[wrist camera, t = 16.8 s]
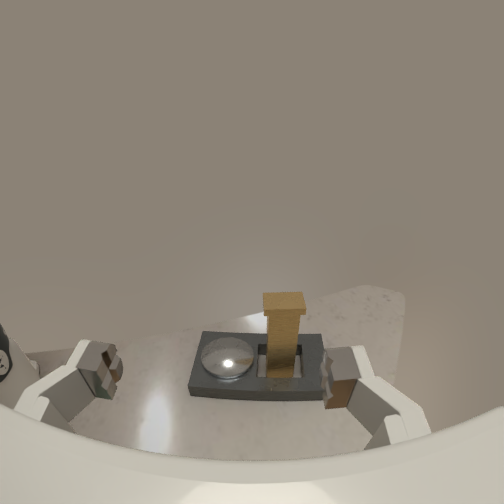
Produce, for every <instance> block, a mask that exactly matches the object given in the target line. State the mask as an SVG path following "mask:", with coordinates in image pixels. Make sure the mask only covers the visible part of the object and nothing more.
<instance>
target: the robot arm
mask: <svg viewBox="0 0 504 504" xmlns="http://www.w3.org/2000/svg"><path fill="white" fill-rule="evenodd" d="M116 352H117V349H116V347H115V345H114V344H110V343H103V342H97V341H89V340H83V339H82V340H81V341H79V343H78V345H77V346H76V348H75V350H74V351H73V353H72V355H71V357H70V358H69V360H68V362H67V364H66V365H65V366H64V365H62V366H61V367H59V368H57V369H56V370H54V371H53V372H51V373H50V374H48V375H46V376H45V377H43V378H42V379H41V378H40V376H39V365H38V364H37V362H36V361H34V360H29V359H28V358H27V356H26V355H25V354H24V352H23V351H22V349H21V348H20V346H19V345H18V343H17V342H16V341H15V340H14V339H13V338H12V339H11V338H8V337H7V335H6V333H5V330H4V328H3V327H2V325H1V324H0V504H504V407H502V406H501V407H497V408H495V409H492V410H490V411H488V412H486V413H484V414H481V415H479V416H477V417H474V418H472V419H469V420H467V421H464V422H462V423H460V424H457V425H454V426H451V427H448V428H445V429H443V430H440V431H437V432H434V433H431V430H430V428H429V425H428V423H427V420H426V418H425V415H424V413H423V410H422V408H421V407H420V406H419V405H417V404H416V403H415V402H413V401H412V400H411V399H409V398H408V397H406V396H405V395H404V394H402V393H401V392H399V391H398V390H397V389H396V388H394V387H393V386H392V385H390V384H389V383H388V382H386V381H385V380H383V379H382V378H381V377H379V376H375V374H374V371H373V369H372V366H371V363H370V361H369V358H368V356H367V353H366V351H365V348H364V346H362V345H361V346H351V347H339V348H328V349H324V351H323V355H322V357H323V362H322V363H321V364H320V369H319V379H320V385H321V387H322V388H323V389H324V391H323V395H322V396H323V401H324V406H325V409H333V408H344V407H347V410H348V411H349V412H350V413H351V414H352V415H353V416H354V417H355V418H356V419H357V420H358V421H359V422H360V423H361V424H362V425H363V426H364V427H365V428H366V429H367V430H368V431H369V432H370V434H371V435H372V436H373V437H372V438H371V440H370V441H369V443H368V444H367V446H366V447H365V448H364V450H363V451H357V452H351V453H345V454H339V455H331V456H323V457H314V458H303V459H289V460H261V461H245V460H217V459H203V458H192V457H183V456H175V455H167V454H160V453H154V452H148V451H143V450H138V449H133V448H128V447H123V446H119V445H114V444H110V443H106V442H102V441H99V440H95V439H91V438H88V437H84V436H81V435H78V434H75V430H74V429H73V428H72V427H71V426H70V424H69V423H68V422H70V421H71V420H72V419H73V418H74V417H75V416H76V415H77V414H78V413H79V412H81V411H82V410H83V409H84V408H85V407H86V406H87V405H88V404H89V403H90V402H92V401H93V400H94V399H95V397H99V398H104V399H110V400H113V397H114V395H115V392H116V390H117V386H116V382H118V381H119V380H120V379H121V377H122V373H123V364H122V361H121V358H120V357H118V356H117V355H116Z"/></svg>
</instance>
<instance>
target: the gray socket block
mask: <svg viewBox="0 0 504 504" xmlns="http://www.w3.org/2000/svg"><path fill="white" fill-rule="evenodd" d="M266 341H267V334H255V333H228V332H209V331H203V332H202V336H201V339H200V343H199V346H198V350H197V354H196V357H195V361H194V365H193V368H192V372H191V376H190V380H189V383H188V388H189V392H190V395H191V396H199V397H210V398H222V399H237V400H260V401H307V400H323V396H322V395H323V391H324V389H323V388H322V387H321V385H320V379H319V369H320V364H321V363H322V362H323V357H322V355H323V351H324V347H323V342H322V336H321V334H298V340H297V348H296V355H300V358H301V370H302V378H266V377H257V364H258V354H263V355H266Z"/></svg>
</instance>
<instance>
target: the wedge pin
mask: <svg viewBox="0 0 504 504" xmlns="http://www.w3.org/2000/svg"><path fill="white" fill-rule="evenodd" d="M263 308H264V316H267V341H266V375H267V378H289V377H293V371H294V363H295V356H296V348H297V340H298V331H299V323H300V315H306V305H305V301H304V298H303V294H302V292H280V293H263Z"/></svg>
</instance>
